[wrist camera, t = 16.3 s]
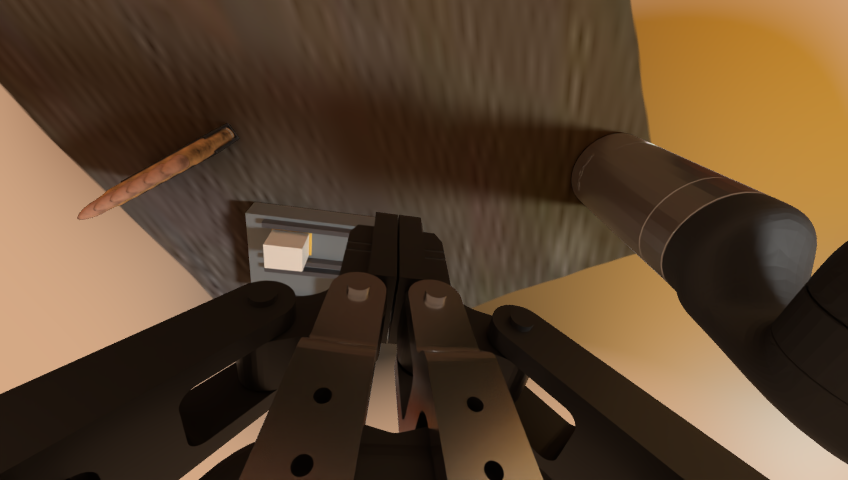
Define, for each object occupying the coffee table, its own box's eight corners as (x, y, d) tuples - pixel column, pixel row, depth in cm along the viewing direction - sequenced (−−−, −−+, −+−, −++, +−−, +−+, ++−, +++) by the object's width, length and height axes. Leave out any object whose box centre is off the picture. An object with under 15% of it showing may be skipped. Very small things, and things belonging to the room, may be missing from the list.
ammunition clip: (162, 180, 40) (79, 232, 30) (149, 166, 39) (59, 214, 29) (240, 138, 38) (181, 178, 28) (228, 122, 37) (162, 157, 27)
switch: (309, 233, 41) (302, 248, 38) (308, 255, 42) (302, 271, 39) (272, 229, 40) (263, 244, 37) (273, 251, 42) (264, 267, 39)
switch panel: (422, 223, 45) (424, 239, 41) (407, 297, 50) (408, 316, 47) (254, 201, 42) (241, 217, 38) (260, 282, 48) (249, 302, 44)
